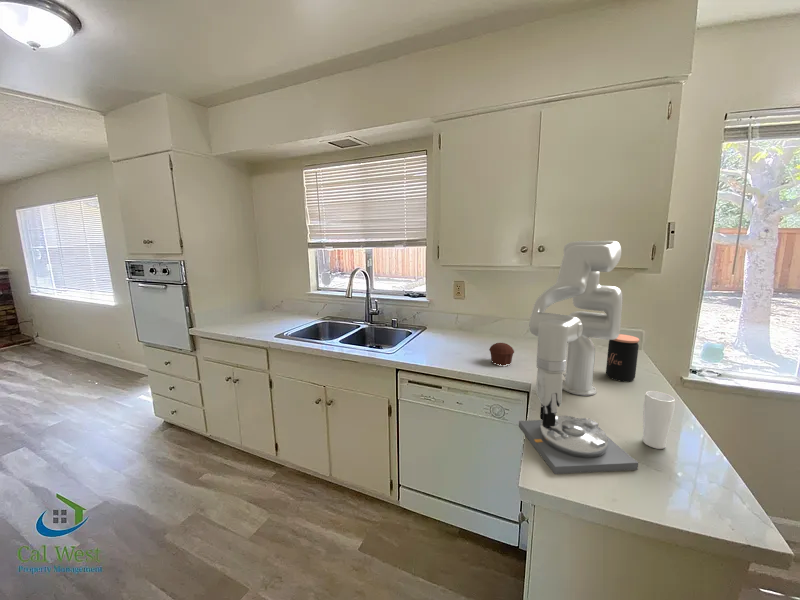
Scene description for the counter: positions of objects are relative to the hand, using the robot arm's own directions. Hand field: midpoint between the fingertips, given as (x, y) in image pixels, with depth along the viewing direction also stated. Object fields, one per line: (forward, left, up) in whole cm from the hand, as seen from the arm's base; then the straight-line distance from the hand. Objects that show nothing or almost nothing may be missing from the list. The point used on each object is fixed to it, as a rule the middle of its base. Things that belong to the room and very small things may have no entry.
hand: (547, 422), depth 96 cm
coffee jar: (-43, +55, -6) cm, 70 cm away
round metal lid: (+3, +6, -4) cm, 8 cm away
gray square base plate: (+3, +6, -6) cm, 9 cm away
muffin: (-64, +10, -6) cm, 65 cm away
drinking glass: (+4, +30, -6) cm, 31 cm away
